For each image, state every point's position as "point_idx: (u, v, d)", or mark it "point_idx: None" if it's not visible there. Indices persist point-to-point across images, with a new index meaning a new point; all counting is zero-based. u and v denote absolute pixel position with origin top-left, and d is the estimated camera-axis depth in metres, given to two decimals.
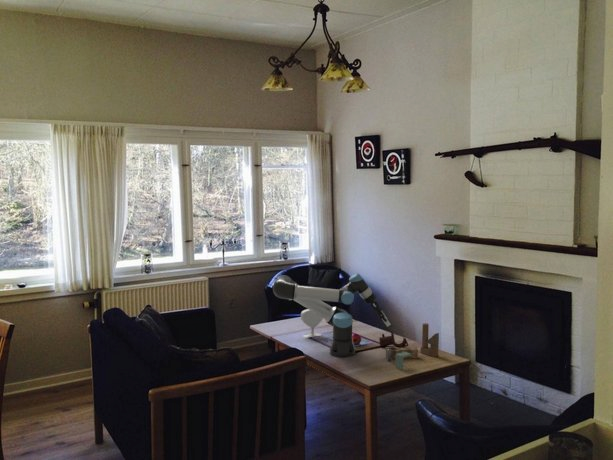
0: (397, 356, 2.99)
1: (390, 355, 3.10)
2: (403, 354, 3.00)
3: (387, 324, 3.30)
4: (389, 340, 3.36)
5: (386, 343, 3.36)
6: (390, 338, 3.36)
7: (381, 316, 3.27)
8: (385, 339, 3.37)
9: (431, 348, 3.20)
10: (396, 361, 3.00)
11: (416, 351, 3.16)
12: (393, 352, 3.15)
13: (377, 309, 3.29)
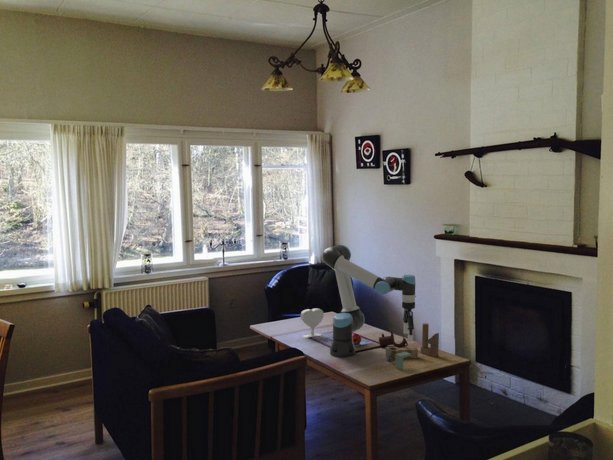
0: (397, 356, 2.99)
1: (390, 355, 3.10)
2: (403, 354, 3.00)
3: (409, 338, 3.10)
4: (389, 340, 3.36)
5: (386, 343, 3.36)
6: (390, 338, 3.36)
7: (411, 327, 3.07)
8: (385, 339, 3.37)
9: (431, 348, 3.20)
10: (396, 361, 3.00)
11: (416, 351, 3.16)
12: (393, 352, 3.15)
13: (411, 319, 3.08)
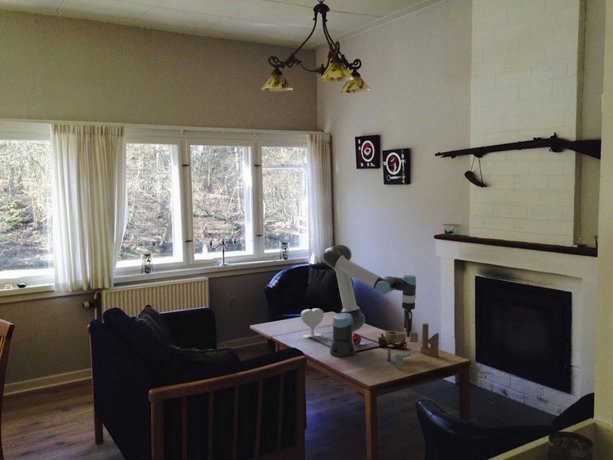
0: (397, 356, 2.99)
1: (390, 355, 3.10)
2: (403, 354, 3.00)
3: (407, 340, 3.15)
4: None
5: (385, 343, 3.36)
6: None
7: (408, 329, 3.11)
8: (384, 339, 3.37)
9: (431, 348, 3.20)
10: (396, 361, 3.00)
11: (416, 335, 3.15)
12: (393, 336, 3.14)
13: (409, 322, 3.11)
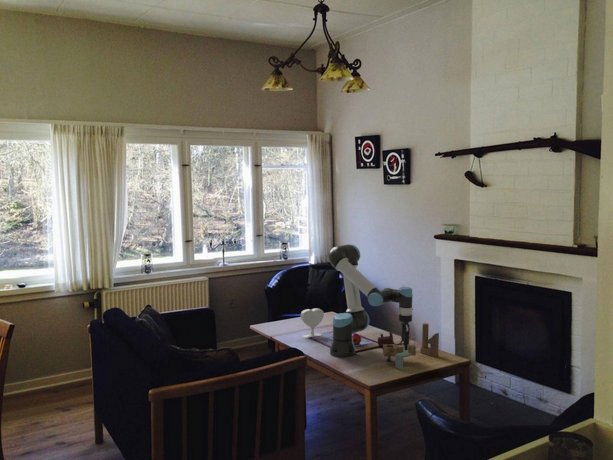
0: (397, 356, 2.99)
1: None
2: (403, 354, 3.00)
3: None
4: (387, 340, 3.35)
5: (384, 343, 3.36)
6: (388, 338, 3.36)
7: (406, 342, 3.05)
8: (383, 339, 3.37)
9: (431, 348, 3.20)
10: (396, 361, 3.00)
11: (414, 348, 3.09)
12: (390, 349, 3.07)
13: (407, 335, 3.04)
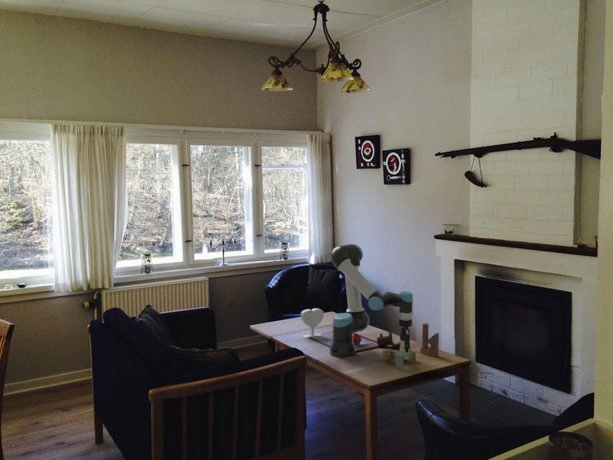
0: (397, 356, 2.99)
1: None
2: (403, 354, 3.00)
3: (405, 357, 3.06)
4: (386, 340, 3.35)
5: (384, 343, 3.36)
6: (388, 338, 3.36)
7: (407, 346, 3.02)
8: (383, 339, 3.37)
9: (431, 348, 3.20)
10: (396, 361, 3.00)
11: (414, 355, 3.09)
12: (390, 356, 3.07)
13: (407, 338, 3.03)
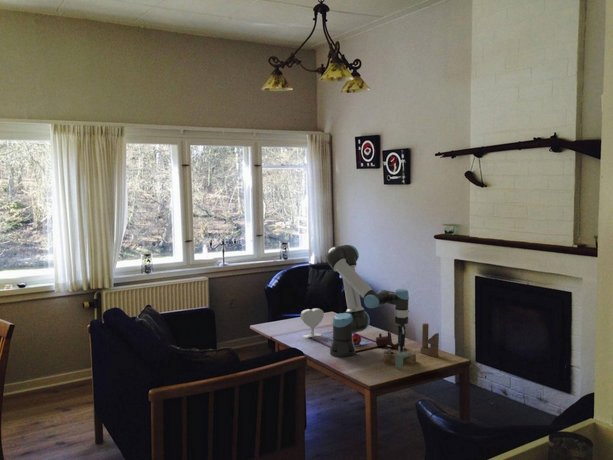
0: (397, 356, 2.99)
1: None
2: (403, 354, 3.00)
3: None
4: (385, 340, 3.35)
5: (382, 343, 3.36)
6: (386, 338, 3.36)
7: (401, 344, 3.08)
8: (381, 339, 3.37)
9: (431, 348, 3.20)
10: (396, 361, 3.00)
11: (414, 356, 3.07)
12: (390, 356, 3.07)
13: (403, 337, 3.06)
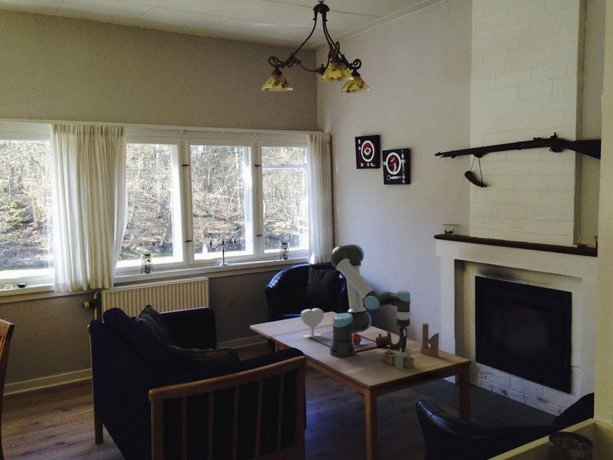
0: (397, 356, 2.99)
1: None
2: (403, 354, 3.00)
3: None
4: (385, 340, 3.35)
5: (382, 343, 3.36)
6: (386, 338, 3.36)
7: (403, 346, 3.04)
8: (381, 339, 3.37)
9: (431, 348, 3.20)
10: (396, 361, 3.00)
11: (409, 361, 2.99)
12: (386, 356, 3.07)
13: (404, 339, 3.02)
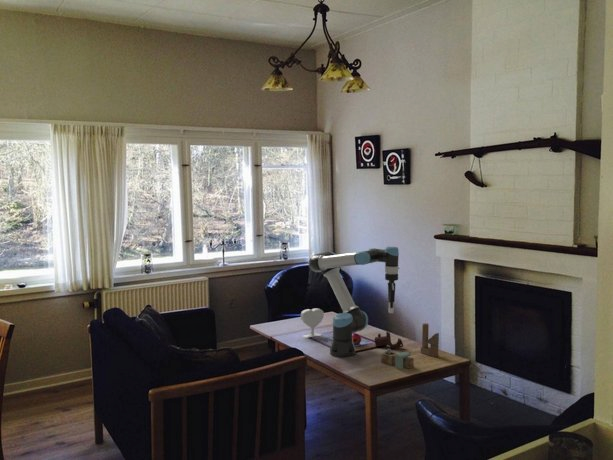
0: (397, 356, 2.99)
1: None
2: (403, 354, 3.00)
3: (390, 311, 3.16)
4: (384, 340, 3.35)
5: (381, 343, 3.36)
6: (385, 338, 3.36)
7: (391, 300, 3.13)
8: (380, 339, 3.37)
9: (431, 348, 3.20)
10: (396, 361, 3.00)
11: (408, 361, 2.99)
12: (386, 356, 3.07)
13: (392, 293, 3.11)
